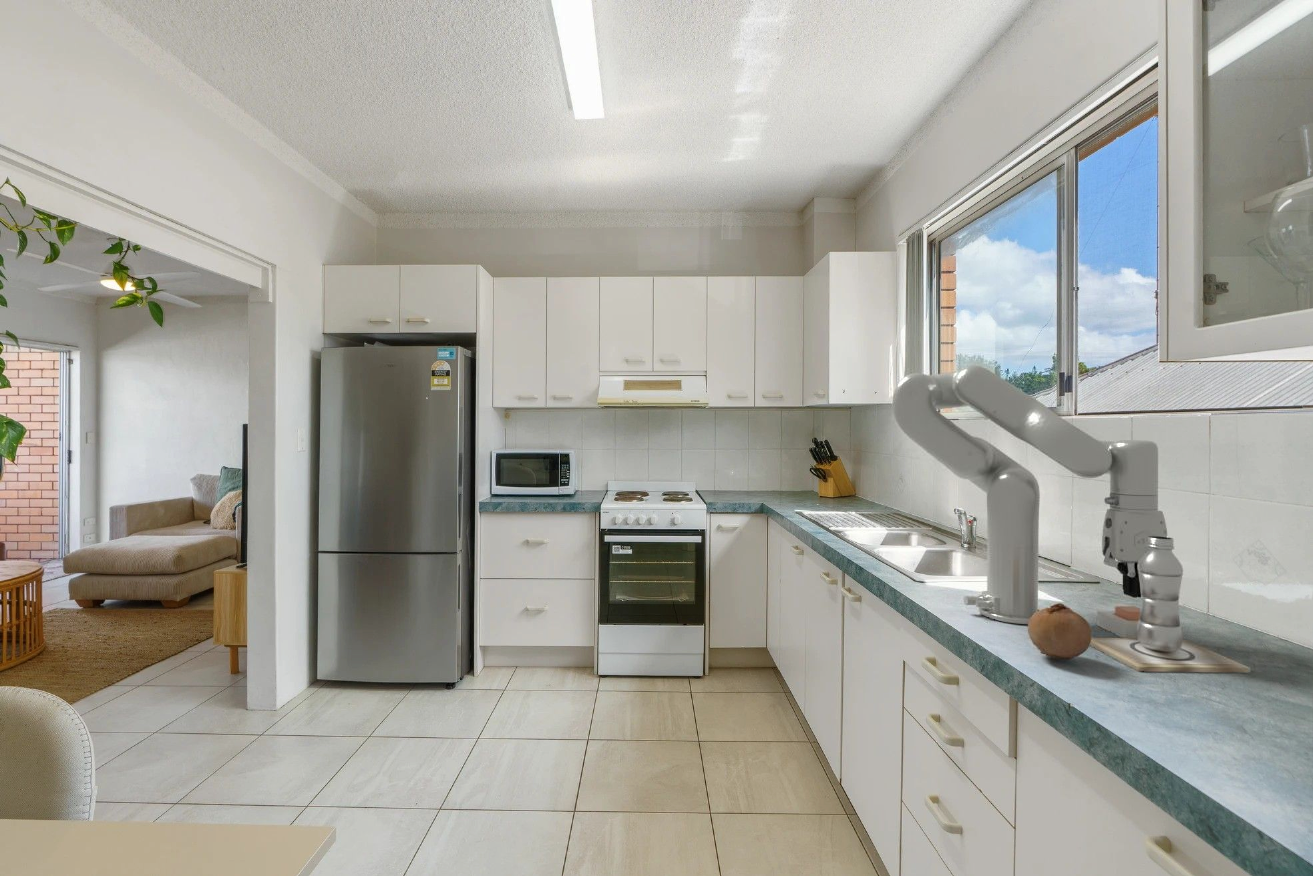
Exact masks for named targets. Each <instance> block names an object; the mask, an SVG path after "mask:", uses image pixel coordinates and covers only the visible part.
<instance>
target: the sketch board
mask: <svg viewBox="0 0 1313 876" xmlns="http://www.w3.org/2000/svg"><path fill="white" fill-rule="evenodd" d="M1090 645H1091V646H1090ZM1090 645H1089V646H1090V647H1092V648H1094V647H1095V650H1098V651H1099V650H1100V652H1101V651H1102V653H1103V652H1104V654H1105V653H1106V654H1105V655H1107V654H1108V655H1107V656H1109V655H1110V656H1109V657H1111V658H1112V657H1113V659H1114V658H1115V660H1116V659H1117V660H1116V661H1118V662H1120V661H1121V662H1120V663H1122V664H1124V665H1125V664H1126V665H1125V666H1127V665H1128V667H1130V668H1131V667H1132V669H1133V670H1135V671H1136V672H1142V671H1144V672H1145V671H1146V673H1147V672H1151V673H1153V672H1155V673H1157V672H1158V673H1159V672H1161V673H1162V672H1163V673H1238V674H1240V673H1242V674H1243V673H1246V674H1249V673H1251V667H1249V666H1248V665H1247V666H1246V665H1244V664H1242V663H1240V662H1238V661H1236V660H1232V659H1230V658H1228V657H1225V656H1223V655H1222V654H1219V653H1216V652H1213V651H1212V650H1209V649H1207V648H1205V647H1203V646H1200V645H1197V644H1195V643H1193V642H1191V641H1189V640H1185V639H1184V638H1183V642H1182V646H1181V648H1180V649H1179V650H1178V651H1176V652H1164V651H1158V650H1154V649H1150V648H1147V647H1145V646H1143V645H1141V643H1140V642H1139V641H1138V638H1122V637H1120V638H1119V637H1117V638H1116V637H1092V638H1091V643H1090Z"/></svg>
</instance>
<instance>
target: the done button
mask: <svg viewBox="0 0 1313 876" xmlns="http://www.w3.org/2000/svg"><path fill="white" fill-rule="evenodd" d="M1114 607H1115V608H1114V611H1115V615H1116V616H1119V617H1121V618H1123V619H1126V620H1128V621H1138V620H1139V616H1140V607H1138V606H1129V605H1126V606H1125V605H1118V606H1117V605H1115V606H1114Z"/></svg>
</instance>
